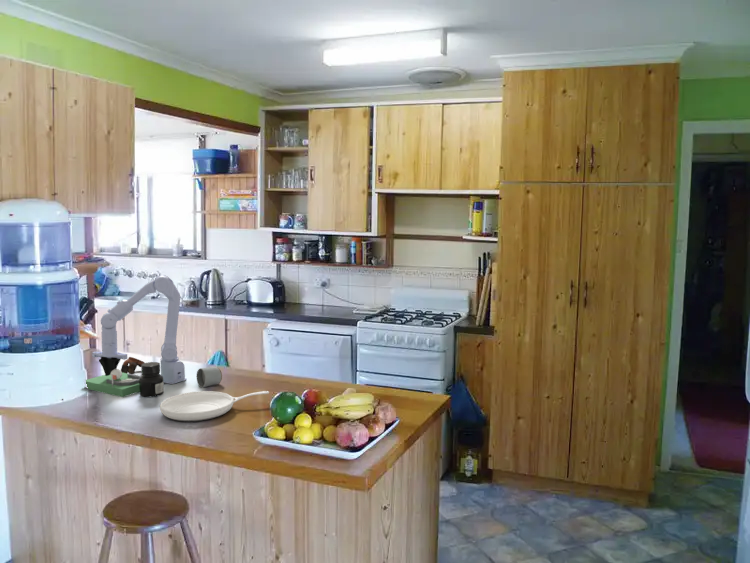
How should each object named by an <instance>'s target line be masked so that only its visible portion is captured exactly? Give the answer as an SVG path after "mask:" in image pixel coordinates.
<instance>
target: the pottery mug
mask: <svg viewBox="0 0 750 563" xmlns="http://www.w3.org/2000/svg"><path fill="white" fill-rule="evenodd" d="M144 363H145V362H144V361H142V359H138V358H136V357H132V356H129V357H127V359H125V360H124V362H122V365H121V368H120V370H121V372H122V373H127V374H133V375H135V372H136V369H137V367H139V368H141V365H142V364H144Z"/></svg>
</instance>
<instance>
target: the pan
mask: <svg viewBox="0 0 750 563" xmlns="http://www.w3.org/2000/svg"><path fill="white" fill-rule="evenodd" d="M269 393H270V391H268V390H262V391H256V392H250V393H248V394H244V395H242V396H241V395H240V396H237V397H236V396H232V395H230V394H228V393H226V392H220V391H212V390H211V391H210V390H209V391H207V390H204V391H203V390H202V391H192V392H184V393H180V394H176V395H173V396H170V397H167V398H166V399H164V400H162V402H161V403H160V405H159V409H160V411H161V414H163V415H164V416H165V417H166V418H169V419H170V420H172V421H173V420H174V421H179V422H199V421H207V420H212V419H214V418H218V417H221V416H222V415H224V414H227V412H229V411H230V410H231V409H232V408H233V405H234V403H237V402H238V401H240V400H243V399H245V398H248V397H251V396H258V395H269Z"/></svg>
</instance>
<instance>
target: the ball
mask: <svg viewBox="0 0 750 563" xmlns="http://www.w3.org/2000/svg"><path fill="white" fill-rule="evenodd" d="M111 374H113V375H116V376H117V380H118V379H120V378H121V377H122V372H121V369H119V368H117V369H114V370H112V371H111V373H110V376H111ZM111 378H112V376H111ZM114 380H115V379H114Z"/></svg>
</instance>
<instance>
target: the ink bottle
mask: <svg viewBox="0 0 750 563" xmlns="http://www.w3.org/2000/svg"><path fill="white" fill-rule="evenodd" d="M140 368H141V370H140V371H141V376H142V377H140V379H139V390H140V392H139V396H141V397H142V398H155V397H159V396H162V395H163V394H164V393H165V386H164V385H165V384H164V382H163V376H162V375H161V362H157V361H149V362H144V364H142V365H141V367H140Z"/></svg>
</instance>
